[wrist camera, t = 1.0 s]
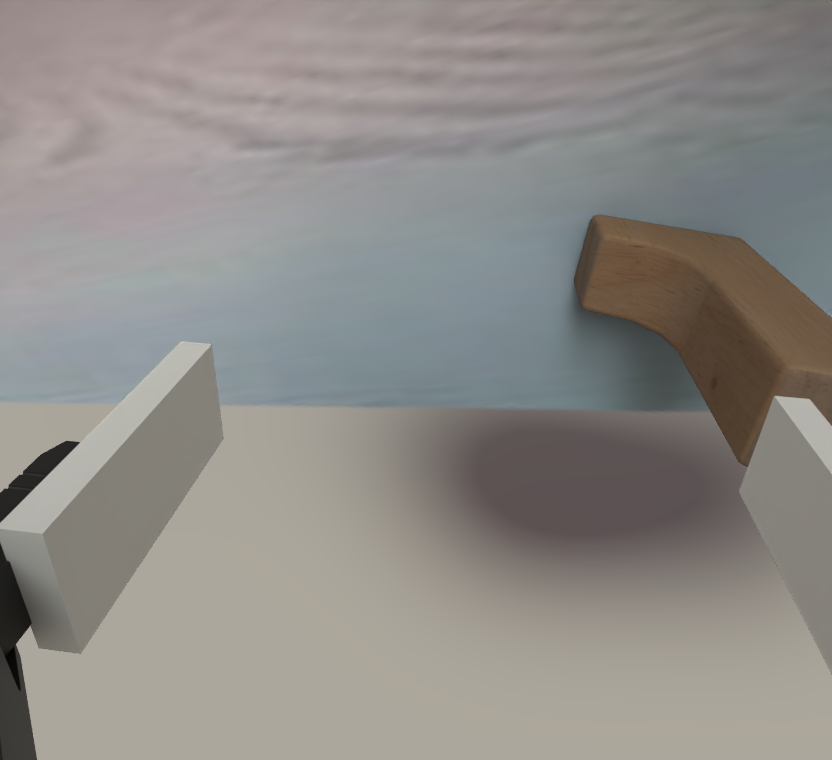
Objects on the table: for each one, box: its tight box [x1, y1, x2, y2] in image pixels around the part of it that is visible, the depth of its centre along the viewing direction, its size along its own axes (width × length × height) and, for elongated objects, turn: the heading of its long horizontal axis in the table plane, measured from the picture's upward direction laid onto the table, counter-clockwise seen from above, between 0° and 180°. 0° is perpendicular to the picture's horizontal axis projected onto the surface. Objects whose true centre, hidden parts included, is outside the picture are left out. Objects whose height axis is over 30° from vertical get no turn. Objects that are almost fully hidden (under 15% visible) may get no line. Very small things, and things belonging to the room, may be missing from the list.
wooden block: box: [574, 215, 832, 467], centre depth 31 cm, size 9×4×18 cm, turn 82°
